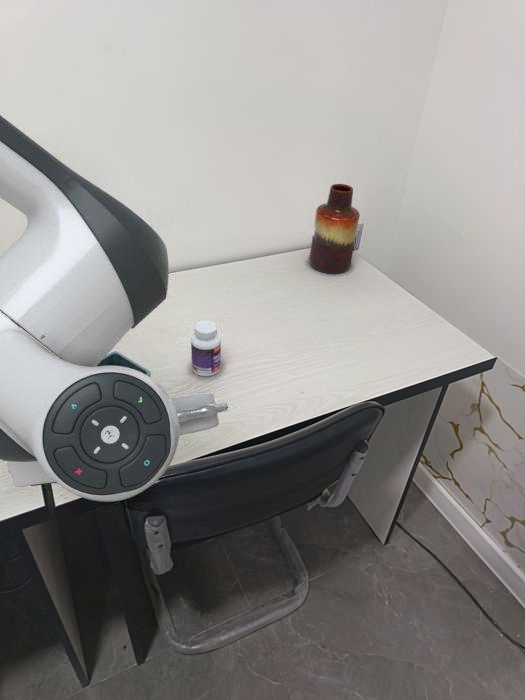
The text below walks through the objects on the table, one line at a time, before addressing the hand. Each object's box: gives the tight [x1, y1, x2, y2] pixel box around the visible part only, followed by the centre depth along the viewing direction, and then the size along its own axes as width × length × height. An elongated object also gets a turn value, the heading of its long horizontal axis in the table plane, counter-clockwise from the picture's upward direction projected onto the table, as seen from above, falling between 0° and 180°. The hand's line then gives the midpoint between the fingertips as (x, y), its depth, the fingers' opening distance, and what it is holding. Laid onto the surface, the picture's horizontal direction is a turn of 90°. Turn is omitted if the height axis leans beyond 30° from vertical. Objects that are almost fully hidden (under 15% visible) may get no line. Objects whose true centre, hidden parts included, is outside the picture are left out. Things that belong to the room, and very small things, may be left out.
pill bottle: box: [190, 319, 222, 377], centre depth 91 cm, size 5×5×10 cm
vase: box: [308, 183, 361, 275], centre depth 124 cm, size 11×11×20 cm
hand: (118, 426), depth 56 cm, fingers closed
